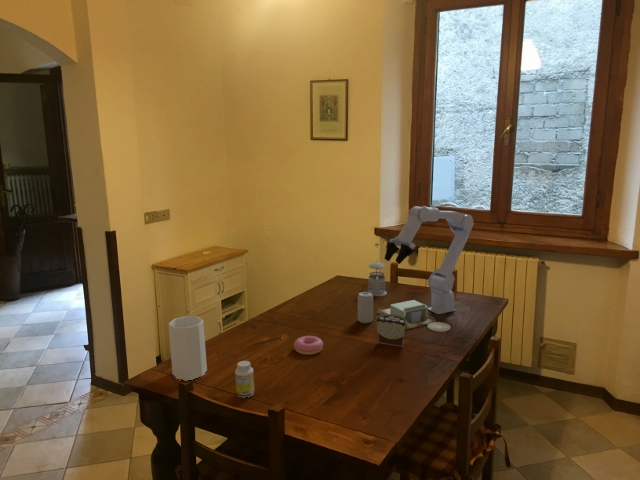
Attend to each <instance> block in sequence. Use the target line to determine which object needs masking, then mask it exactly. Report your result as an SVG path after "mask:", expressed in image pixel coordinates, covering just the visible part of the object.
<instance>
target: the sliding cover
mask: <svg viewBox="0 0 640 480" xmlns="http://www.w3.org/2000/svg"><path fill="white" fill-rule="evenodd" d="M389 306H390V307H389V309H390V314H395V315H400V316H402V317H404V318H405V312H410V311H415V310H420V311H421V315H422V316H424V317H426V318H428V314H429V313H428V312H429V310H428V308H429V307H428V306H427V305H426V304H425V303H421V302H420V301H417V300H416V299H413V300H406V301H402V302H397V303H392V304H390V305H389Z"/></svg>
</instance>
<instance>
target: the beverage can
mask: <svg viewBox="0 0 640 480" xmlns="http://www.w3.org/2000/svg"><path fill="white" fill-rule="evenodd" d="M357 321H358V322H359V323H360V324H370V323H371V322H373V321H374V296H372V293H369V292H368V291H363V292H358V296H357Z"/></svg>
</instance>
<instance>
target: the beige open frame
mask: <svg viewBox="0 0 640 480" xmlns="http://www.w3.org/2000/svg"><path fill="white" fill-rule="evenodd" d="M376 313H377V314H378V315H379V316H380V315H384V314H390V308H386V309H380V308H379V309H378V310H377V312H376ZM435 318H436V317H432V316H431V315H428V318H426V317H424V316H422V315H421V322H418V323H414V324H410V323H408V322H407V327H405V330H409V329H413V328H417V327H423V326H425V325H427V326H428V324H429V323H433V322H437V320H436V319H435Z"/></svg>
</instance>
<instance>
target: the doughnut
mask: <svg viewBox="0 0 640 480" xmlns="http://www.w3.org/2000/svg"><path fill="white" fill-rule="evenodd" d="M293 348H294V350H295V351H296V352H297V353H299V354H300V355H305V356H312V355H316V354H318V353H320V352H321V351H322V350H323V348H324V341H323V340H322V339H321V338H319V336H314V335H303V336H301V337H298V338H297V339H296V340H295V341H294V342H293Z"/></svg>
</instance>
